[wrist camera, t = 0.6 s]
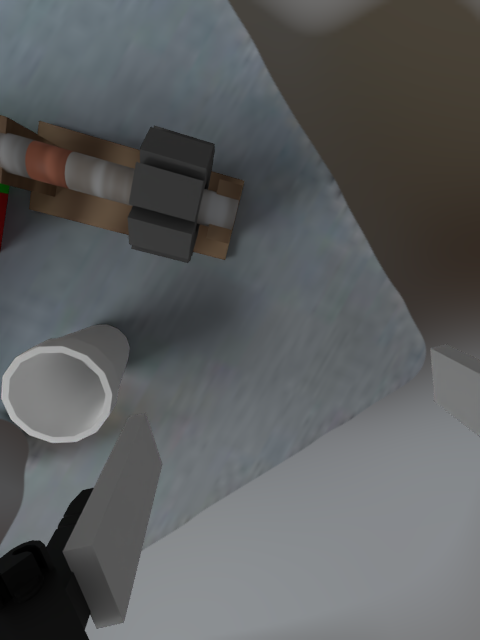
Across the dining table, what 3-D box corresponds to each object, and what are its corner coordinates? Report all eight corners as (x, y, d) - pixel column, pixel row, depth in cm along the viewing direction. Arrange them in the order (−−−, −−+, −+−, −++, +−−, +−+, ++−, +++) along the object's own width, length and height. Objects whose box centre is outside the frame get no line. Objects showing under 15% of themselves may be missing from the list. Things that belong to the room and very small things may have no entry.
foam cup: (93, 296, 41) (38, 324, 28) (156, 340, 42) (132, 385, 30) (50, 356, 42) (-20, 407, 29) (114, 396, 44) (74, 460, 31)
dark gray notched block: (146, 246, 35) (120, 250, 26) (165, 146, 33) (145, 109, 24) (192, 258, 36) (184, 266, 26) (214, 161, 34) (214, 131, 24)
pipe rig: (34, 210, 38) (-41, 199, 27) (44, 124, 36) (-32, 74, 25) (224, 259, 41) (228, 268, 29) (243, 182, 39) (255, 161, 27)
